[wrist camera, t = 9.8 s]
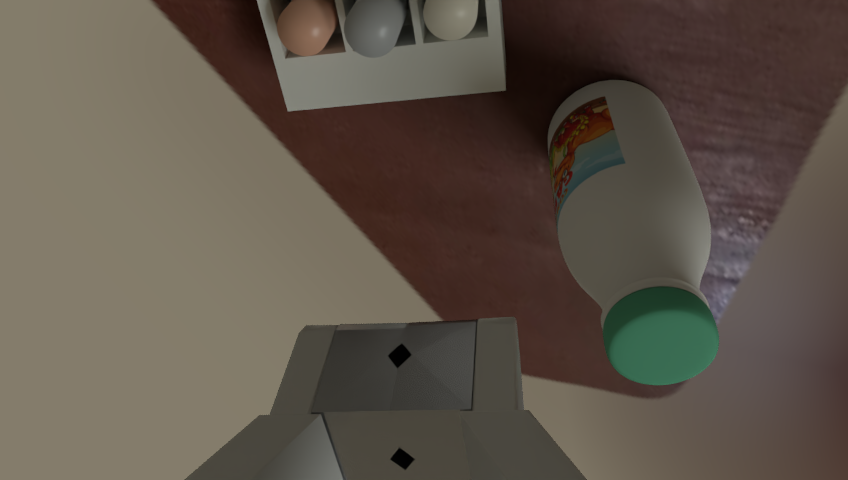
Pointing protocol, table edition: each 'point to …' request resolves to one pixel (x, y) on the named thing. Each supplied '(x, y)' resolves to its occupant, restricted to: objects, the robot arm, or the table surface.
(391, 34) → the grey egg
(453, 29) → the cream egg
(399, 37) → the white compartment tray
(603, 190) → the milk bottle
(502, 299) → the table surface
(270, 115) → the table surface
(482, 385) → the robot arm
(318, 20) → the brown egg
